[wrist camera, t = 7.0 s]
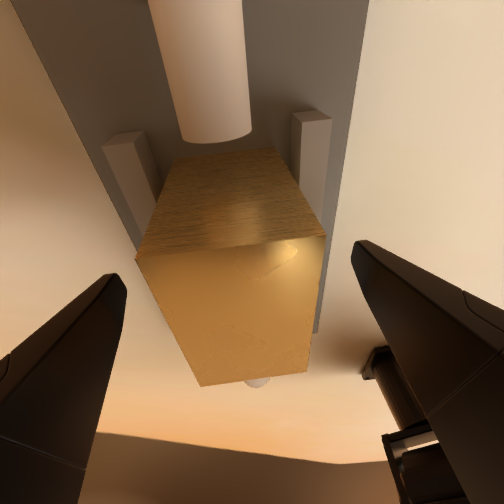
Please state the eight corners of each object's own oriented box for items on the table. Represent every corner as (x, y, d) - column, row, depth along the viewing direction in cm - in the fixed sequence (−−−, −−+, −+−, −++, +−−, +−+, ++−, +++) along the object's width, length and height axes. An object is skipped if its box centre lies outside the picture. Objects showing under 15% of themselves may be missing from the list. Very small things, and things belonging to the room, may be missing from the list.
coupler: (174, 158, 10) (134, 259, 5) (275, 146, 10) (326, 234, 5) (206, 273, 14) (200, 386, 9) (277, 264, 14) (306, 371, 9)
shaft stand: (311, 316, 20) (332, 376, 16) (189, 333, 20) (182, 398, 16) (376, -224, 6) (633, -664, 2) (-47, -187, 6) (-535, -620, 2)
